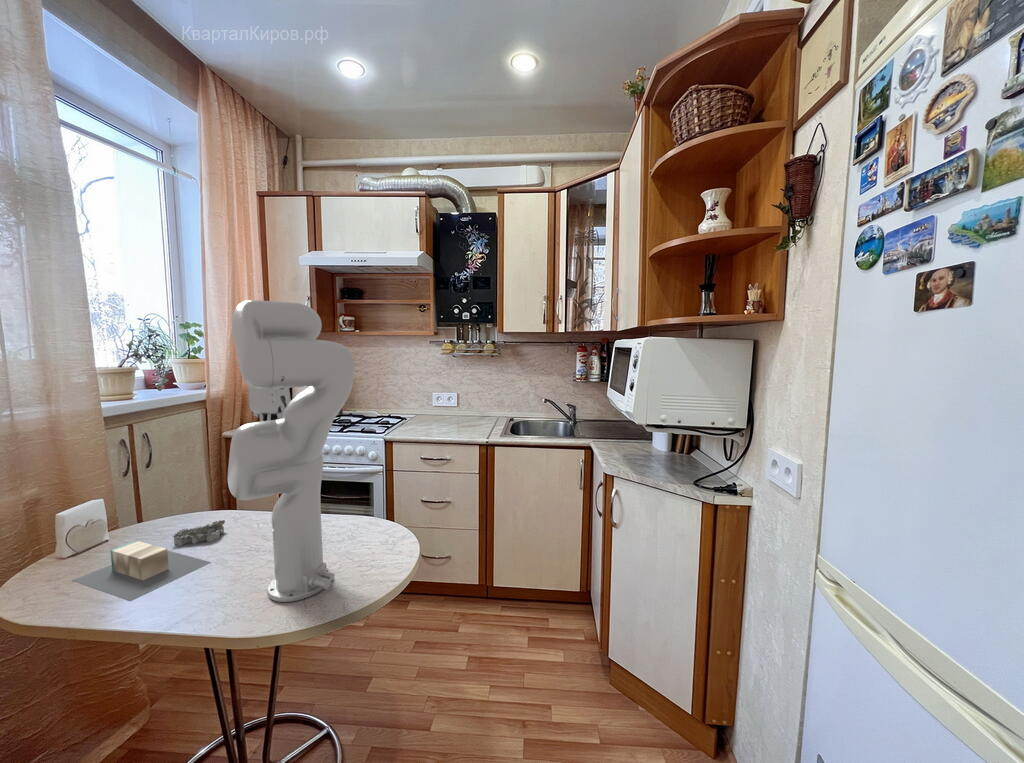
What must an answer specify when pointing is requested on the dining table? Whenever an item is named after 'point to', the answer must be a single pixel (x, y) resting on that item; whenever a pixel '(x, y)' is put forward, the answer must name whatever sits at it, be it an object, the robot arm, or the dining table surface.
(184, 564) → the rubber mat
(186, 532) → the grey jagged stone ring
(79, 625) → the dining table surface
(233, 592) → the dining table surface
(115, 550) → the birch block
